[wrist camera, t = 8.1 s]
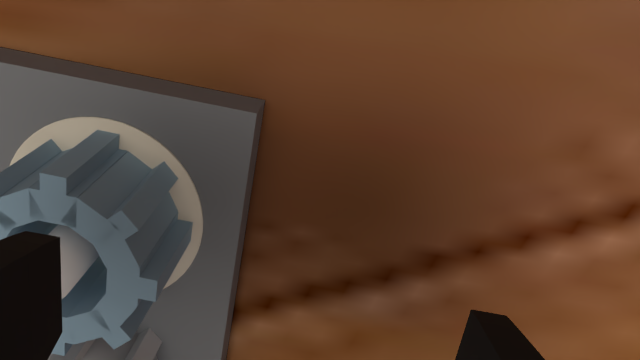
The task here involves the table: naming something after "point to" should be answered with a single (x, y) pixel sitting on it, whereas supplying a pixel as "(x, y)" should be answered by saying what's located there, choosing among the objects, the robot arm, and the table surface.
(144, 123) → the gear board
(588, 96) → the table surface
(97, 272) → the slate gear
